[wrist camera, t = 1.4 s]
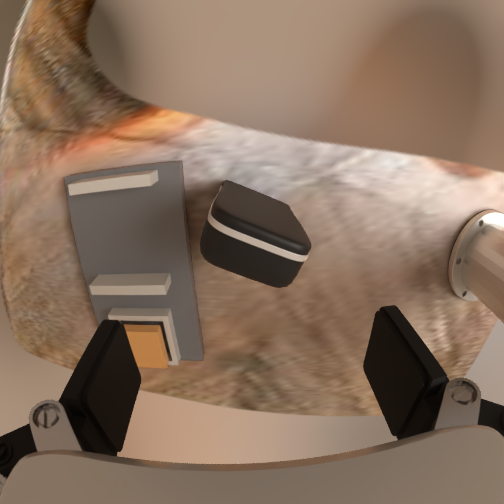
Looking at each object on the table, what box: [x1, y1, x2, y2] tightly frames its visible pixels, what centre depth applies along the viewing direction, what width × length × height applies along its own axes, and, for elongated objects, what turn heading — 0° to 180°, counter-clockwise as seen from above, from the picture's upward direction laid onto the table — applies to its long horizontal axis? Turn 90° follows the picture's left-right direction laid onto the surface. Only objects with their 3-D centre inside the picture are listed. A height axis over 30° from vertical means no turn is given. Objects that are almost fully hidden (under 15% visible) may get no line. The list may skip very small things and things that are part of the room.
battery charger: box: [200, 180, 311, 288], centre depth 23 cm, size 7×4×11 cm, turn 67°
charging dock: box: [64, 160, 204, 365], centre depth 29 cm, size 12×22×4 cm, turn 2°
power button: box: [123, 324, 169, 368], centre depth 30 cm, size 5×5×1 cm
